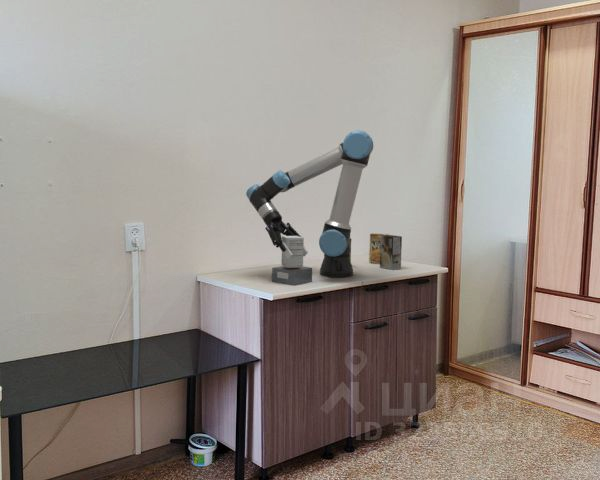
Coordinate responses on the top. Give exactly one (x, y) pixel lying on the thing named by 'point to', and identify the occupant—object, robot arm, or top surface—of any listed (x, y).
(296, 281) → the grey button housing
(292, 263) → the supplement box
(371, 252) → the candy box
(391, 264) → the coffee box
